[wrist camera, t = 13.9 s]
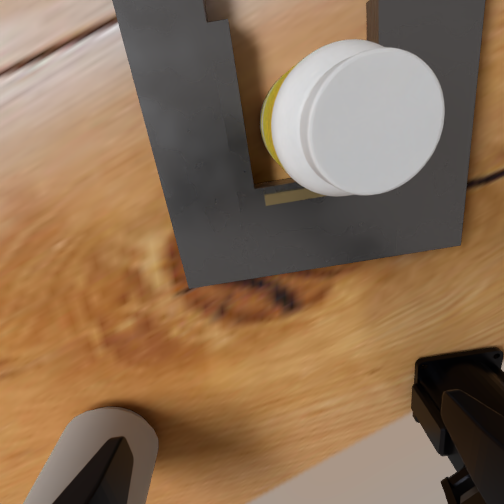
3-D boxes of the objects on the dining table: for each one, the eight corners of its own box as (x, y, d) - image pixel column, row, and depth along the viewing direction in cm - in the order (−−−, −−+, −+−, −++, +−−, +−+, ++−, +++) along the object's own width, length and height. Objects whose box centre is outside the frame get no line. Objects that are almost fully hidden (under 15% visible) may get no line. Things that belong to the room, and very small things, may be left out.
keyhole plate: (494, -362, 12) (532, -434, 10) (446, 237, 21) (462, 246, 20) (50, -271, 12) (23, -328, 11) (192, 277, 22) (188, 290, 20)
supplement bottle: (278, 185, 19) (314, 243, 10) (244, 92, 17) (250, 64, 8) (365, 150, 19) (481, 178, 10) (340, 50, 17) (457, -30, 8)
